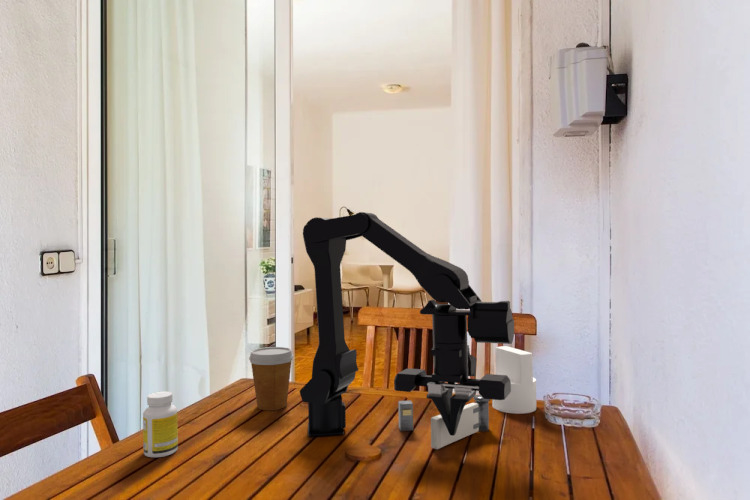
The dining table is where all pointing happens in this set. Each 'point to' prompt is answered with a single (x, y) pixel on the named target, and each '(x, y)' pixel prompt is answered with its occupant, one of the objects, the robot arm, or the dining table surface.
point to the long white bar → (465, 427)
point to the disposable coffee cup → (271, 376)
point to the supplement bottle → (160, 425)
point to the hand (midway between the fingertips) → (452, 434)
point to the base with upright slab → (516, 380)
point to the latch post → (405, 415)
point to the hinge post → (482, 412)
